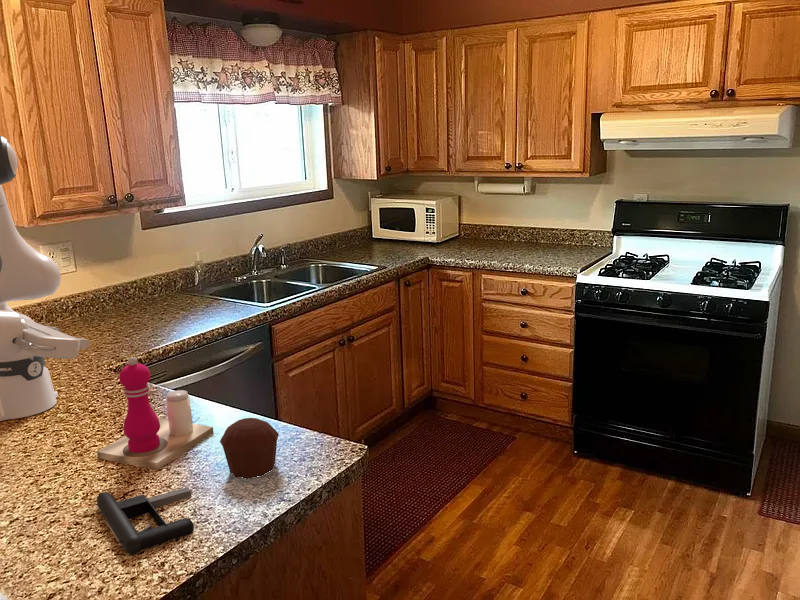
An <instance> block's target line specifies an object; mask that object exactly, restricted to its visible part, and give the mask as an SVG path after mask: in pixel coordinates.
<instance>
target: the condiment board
mask: <svg viewBox="0 0 800 600" xmlns="http://www.w3.org/2000/svg"><path fill="white" fill-rule="evenodd" d="M158 419H159V422H160V429H159V431H158V433H157V434H158V435H159V439H160V445H159V446H158V447H157V448H156V449H154V450H151V451H148V452H144V453H133V452H131V451H130V450H129V447H128V441H129V438H127V437H126V436H125V435H124V436H123V437H121V438H118V439H117V440H115V441H113V442H112V443H110V444H108V445H106V446H105V447H103V448H101V449H99V450H97V451H96V454H97V459H100V460H106V461H111V462H115V463H121V464H127V465H131V466H137V467H141V468H146V469H152V470H156V471H158V470H159V469H162V468H163V467H164V466H166V465H167V464H169V463H170V462H172V461H174V460H175V459H176V458H178V457H179V456H181V455H182V453H183V454H184V453H186V452H187V451H189V450H190V449H192V448H193V447H195V446H196V445H198V444H199V443H201V442H202V441H204V440H205V439H206V438H208V437H211V435H213V434H214V426H209V425H203V424H196V423H193V432H192V433H190V434H188V435H185V436H180V437H175V436H171V435H170V430H169V422H168V418H167V419H165V418H160V417H158ZM203 439H204V440H203ZM200 441H201V442H200ZM197 443H198V444H197ZM191 447H192V448H191ZM188 449H189V450H188Z"/></svg>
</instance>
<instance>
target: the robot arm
mask: <svg viewBox="0 0 800 600" xmlns="http://www.w3.org/2000/svg"><path fill="white" fill-rule="evenodd" d="M18 162H19V161H18V157H17V153H16V151H15V149H14V147H13V146H12V145H11V142H10V141H9V140H8V139H6V138H5V137H4V136H3V135H0V422H2V421H6V420H15V419H23V418H25V417H30V416H33V415H37V414H41V413H43V412H45V411H47V410H49V409H51V408H53V407H54V406H56V404H57V403H58V400H57V397H58V396H59V394H58V390H55V389H54V386H53V382H52V378H51V375H50V372H49V369H48V367H46V366H45V364H46V361H45V358H48V359H49V358H51V359H74V358H76V357H77V356H78V353H79V350H80V349H82V350H86V349H88V348H89V345H90V340H89V339H87V338H85V337H75V336H72V335H69V334H66V333H65V332H61V328H58V327H57V326H49V325H48V326H47V325H44V324H41V323H38V322H36V321H34V320H33V319H32V318H31V317H29V316H28V315H26V314H22V313H20V312H17V311H15V310H13V308H12V307H10V306H9V304H8V303H7V302H16V301H17V302H19V301H31V300H37V299H41V298H46V297H49V296H51V295H55V293H56V292H57V290H59V287H60V285H61V281H62V280H61V279H62V274H61V270H60V267H59V266H58V264H57V262H55V261H54V260H53V259H52V258H51V257H50V256H47V255H45V254H42V253H41V252H39V251H38V250H36V249H35V248H34V247H32V246H31V244H29V243H28V242H27V241H25V239H24V238H23V237H22V235H21V234H20V233H19V231H18V230H17V228H16V225H15V223H14V219H13V216H12V213H11V211H10V207H9V204H8V201H7V197H6V194H5V191H4V188H3V186H2V185H4V184H7V183H9V182H12V181H13V179H15V177H16V176H17V170H18V165H19V164H18Z"/></svg>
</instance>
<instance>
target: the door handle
mask: <svg viewBox="0 0 800 600" xmlns="http://www.w3.org/2000/svg"><path fill="white" fill-rule="evenodd" d="M189 497H192V490H191V489H190V488H189V487H188V486H187V487H183V488H182V487H181V488H180V489H179V488H178V489H176V490H172V491H168V492H165V493H161V494H158V495H154V496H152V497H151V496H150V497H148V498H147V496H146V495H145V494H141V495H138V496H137V495H136V496H133V497H130V498H127V499H123V500H119V501H117V500H116V498H115V496H114V495H113V494H111V493H110V492H109V491H103V492H101V493H99V494H98V495H97V497H96V504H93V505H91V506H92V507H94V506H97V508H98V509H99V511H100V513H102V516H103V517H104V518H105V524H107V526H108V528H109V529H110V531H111V533H112V535H113V536H114V538H115V539H116V541H117V542H116V543H115V542H114V543H115V544H120V545H121V546H119V547H117V548H116V550H117V549H118V550H119V549H122V548H123V549H124V551H125V553H126V554H129V555H132V556H134V555H138V554H139V553H140V552H142V551H144V550H146V549H148V548H151V547H152V548H153V547H155V546H158V545H161V544H165V543H167V542H170V541H173V540H177V539H180V538H183V537H184V536H188V535H190V534H192V533H193V531H194V529H195V526H194V522H193V521H192V520H191V519H190V518H185V517H184V518H180V519H178V520H175V521H170V522H166V521H165V520H164V519H163V517H162V516H161V515H160V514H159V512H158V511H157V509H158V508H161V507H162V508H163V507H164V506H167V505H170V504H172V503H176V502H178V501H181V500H184V499H188V498H189ZM146 514H149V516H150V518H151V519H152V520H153V522H155V524H156V525H157V526H155V527H153V525H151V524H148V525H147V526H145V528H143V529H142V530H140V531H138V530H137V529H136V527H135V525H134V524H133V523H132V522H131V520H132V519H135V518H138V517H140V516H141V517H142V516H144V515H146Z"/></svg>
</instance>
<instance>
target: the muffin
mask: <svg viewBox="0 0 800 600" xmlns="http://www.w3.org/2000/svg"><path fill="white" fill-rule="evenodd" d="M279 436H280V435H279V432H278V431H277V430H276V429H275V428H274V427H273V426H272V425H271V424H270V423H269V422H268V421H265V420H263V419H260V418H257V417H244V418H240V419H238V420H236V421H234V422H233V423H231V424H230V425H229V426H227V428H226V429H225V431H224V433H223V435H222V436H221V438H220V440H219V443H220V444H221V446H222V449H223V452H224V456H225V459H226V463H227V467H228V470H229V472H230V473H231V474H232V473H233V474H232V475H233V477H234V478H238V477H243V478H242V479H244V478H246V479H245V480H249V479H248V478H250V479H253V478H252V477H256V478H258V477H257V476H262V475H264V474H265V473H267V472H269V471H271V470H272V469H274V467H275V465H276V460H277V459H276V458H277V456H276V455H277V448H278V447H277V445H278V443H277V442H278V438H279ZM274 464H275V465H274ZM273 466H274V467H273ZM272 471H273V470H272ZM272 471H271V472H272ZM269 473H270V472H269ZM267 474H268V473H267ZM265 475H266V474H265ZM265 475H264V476H265ZM262 477H263V476H262Z"/></svg>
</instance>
